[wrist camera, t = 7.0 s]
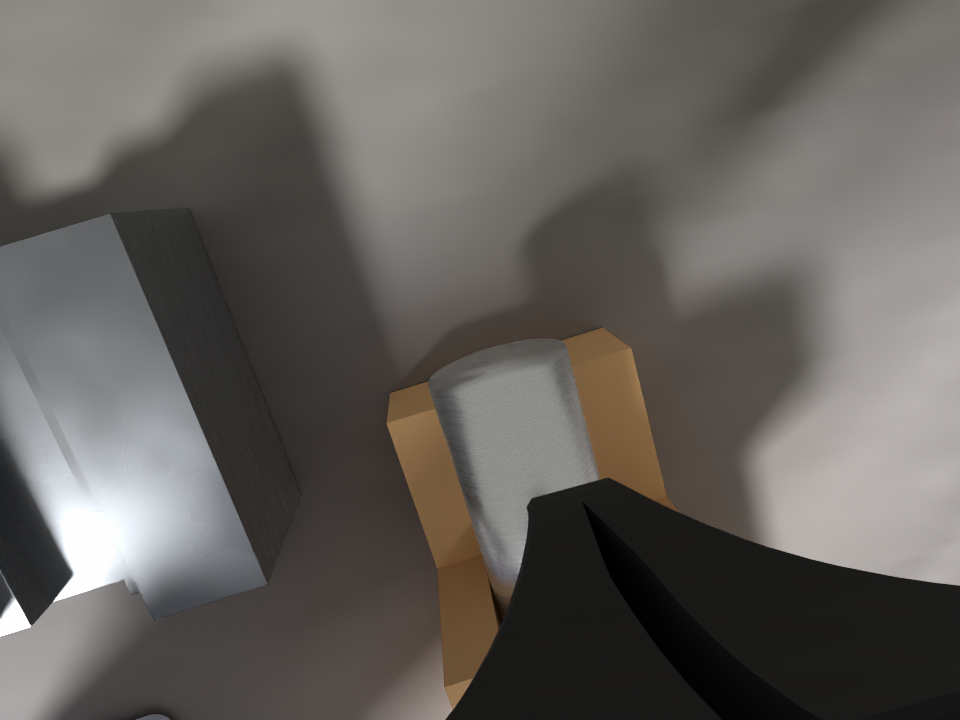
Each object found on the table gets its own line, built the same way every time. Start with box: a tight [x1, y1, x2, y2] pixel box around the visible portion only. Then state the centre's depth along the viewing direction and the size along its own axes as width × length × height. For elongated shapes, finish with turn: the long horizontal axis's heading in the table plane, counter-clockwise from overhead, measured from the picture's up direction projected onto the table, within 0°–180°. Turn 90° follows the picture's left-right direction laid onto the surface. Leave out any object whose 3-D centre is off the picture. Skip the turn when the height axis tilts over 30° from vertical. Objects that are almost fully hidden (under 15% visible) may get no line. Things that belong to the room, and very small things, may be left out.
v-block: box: [0, 208, 301, 636], centre depth 16 cm, size 8×10×4 cm
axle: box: [428, 338, 601, 620], centre depth 16 cm, size 10×3×3 cm, turn 16°
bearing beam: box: [387, 328, 680, 709], centre depth 17 cm, size 14×6×7 cm, turn 16°
